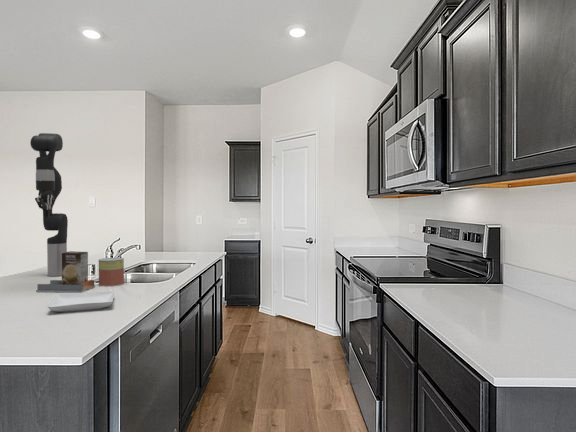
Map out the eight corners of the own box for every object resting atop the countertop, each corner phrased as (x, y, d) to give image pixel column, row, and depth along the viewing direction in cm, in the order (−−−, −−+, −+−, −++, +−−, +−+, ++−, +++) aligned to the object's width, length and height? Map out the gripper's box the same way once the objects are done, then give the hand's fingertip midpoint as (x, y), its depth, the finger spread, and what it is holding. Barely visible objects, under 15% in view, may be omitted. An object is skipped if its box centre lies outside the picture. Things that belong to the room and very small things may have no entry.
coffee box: (60, 288, 184) (60, 252, 183) (69, 286, 190) (69, 251, 190) (80, 289, 183) (80, 253, 183) (88, 286, 190) (88, 251, 189)
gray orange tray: (52, 286, 193) (52, 278, 193) (95, 287, 192) (94, 278, 192) (36, 292, 181) (36, 283, 181) (81, 292, 180) (81, 283, 180)
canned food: (128, 281, 205) (128, 257, 205) (116, 286, 194) (116, 260, 194) (106, 281, 206) (106, 257, 206) (93, 285, 195) (93, 260, 195)
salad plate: (56, 302, 164) (56, 293, 164) (114, 298, 172) (114, 289, 172) (46, 316, 144) (46, 306, 144) (113, 310, 152) (113, 301, 152)
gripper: (45, 180, 196) (46, 216, 197) (28, 179, 183) (29, 218, 184) (61, 180, 196) (62, 217, 197) (45, 179, 183) (46, 218, 184)
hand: (46, 217), depth 190 cm, fingers closed
